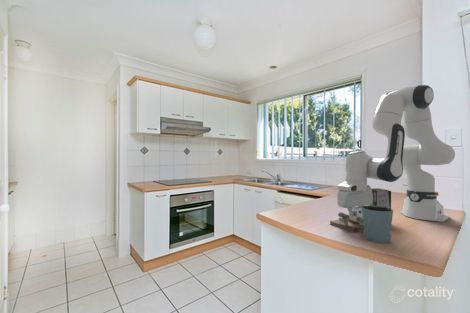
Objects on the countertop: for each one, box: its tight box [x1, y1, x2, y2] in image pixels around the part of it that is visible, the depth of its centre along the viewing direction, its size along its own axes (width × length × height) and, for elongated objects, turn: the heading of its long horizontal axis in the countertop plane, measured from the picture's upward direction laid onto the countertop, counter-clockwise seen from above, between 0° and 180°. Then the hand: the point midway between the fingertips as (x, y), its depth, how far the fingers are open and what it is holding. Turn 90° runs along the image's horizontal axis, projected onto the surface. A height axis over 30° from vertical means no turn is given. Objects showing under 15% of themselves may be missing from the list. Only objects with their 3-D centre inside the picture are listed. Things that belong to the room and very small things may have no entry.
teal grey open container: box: [362, 205, 394, 244], centre depth 84 cm, size 10×10×12 cm
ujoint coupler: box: [349, 206, 363, 222], centre depth 100 cm, size 4×5×6 cm
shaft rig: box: [329, 211, 364, 233], centre depth 100 cm, size 21×12×7 cm, turn 115°
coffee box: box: [371, 187, 392, 209], centre depth 106 cm, size 9×6×16 cm
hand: (355, 215), depth 100 cm, fingers closed on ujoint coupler, 4 cm apart
